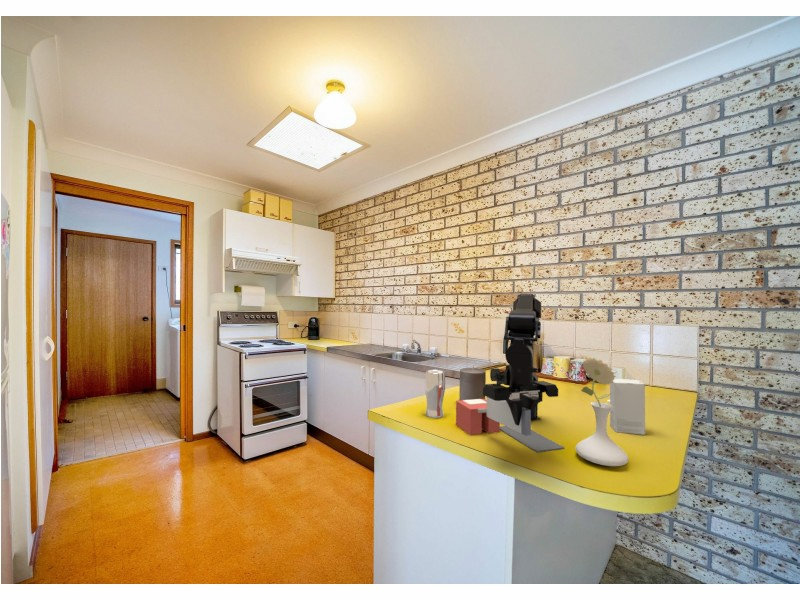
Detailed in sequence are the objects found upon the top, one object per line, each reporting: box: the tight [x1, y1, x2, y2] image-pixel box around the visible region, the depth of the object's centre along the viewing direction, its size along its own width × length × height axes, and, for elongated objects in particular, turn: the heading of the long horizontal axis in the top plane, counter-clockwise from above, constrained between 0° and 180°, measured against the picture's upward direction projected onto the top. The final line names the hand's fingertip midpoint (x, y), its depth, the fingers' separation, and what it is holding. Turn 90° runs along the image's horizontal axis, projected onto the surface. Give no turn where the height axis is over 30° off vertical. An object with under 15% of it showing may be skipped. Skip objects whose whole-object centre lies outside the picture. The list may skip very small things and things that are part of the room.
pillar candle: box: [458, 366, 487, 401], centre depth 127 cm, size 10×10×15 cm
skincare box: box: [609, 378, 646, 436], centre depth 105 cm, size 8×7×16 cm
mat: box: [500, 425, 566, 453], centre depth 97 cm, size 9×18×1 cm, turn 18°
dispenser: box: [455, 398, 501, 436], centre depth 104 cm, size 10×9×8 cm
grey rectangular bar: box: [486, 397, 532, 436], centre depth 90 cm, size 2×17×6 cm, turn 18°
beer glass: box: [424, 369, 446, 419], centre depth 116 cm, size 7×7×15 cm
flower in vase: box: [574, 357, 629, 467], centre depth 85 cm, size 13×11×25 cm
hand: (520, 424), depth 85 cm, fingers closed on grey rectangular bar, 2 cm apart
